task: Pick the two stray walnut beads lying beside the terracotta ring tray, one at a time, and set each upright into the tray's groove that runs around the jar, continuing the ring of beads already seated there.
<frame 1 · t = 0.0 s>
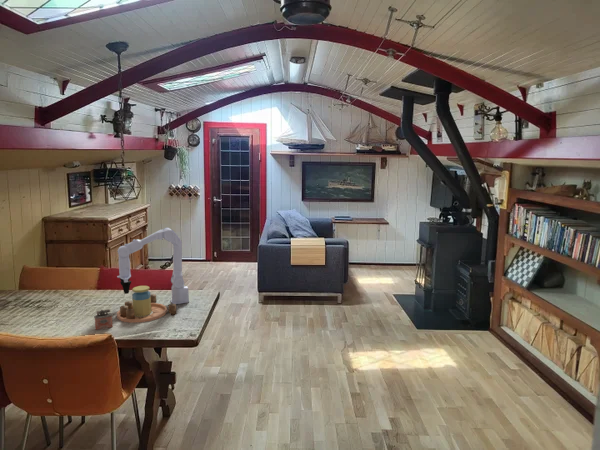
hand: (126, 291, 241), 10 cm above the table, tool pointing down, fingers open, 7 cm apart
bead a: (152, 303, 251), on the table
bead seated 1: (129, 311, 237), point 1 cm above the table, touching dish
bead seated 2: (124, 315, 230), point 1 cm above the table, touching dish
dish: (142, 314, 234), on the table
jar: (142, 315, 234), resting in dish
bead b: (172, 313, 236), on the table
lighter: (104, 329, 214), on the table
bead seated 3: (130, 319, 225), point 1 cm above the table, touching dish
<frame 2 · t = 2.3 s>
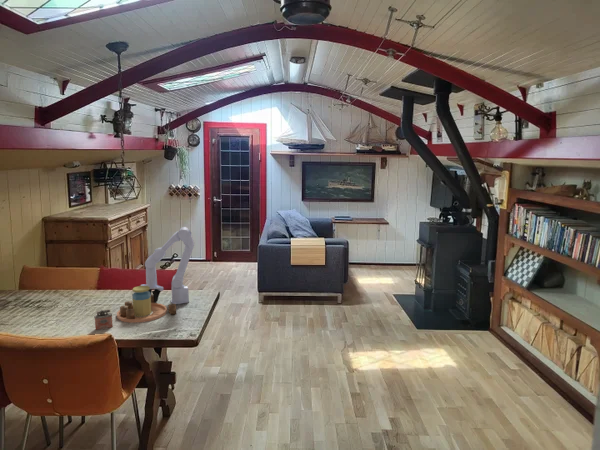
hand: (152, 301, 251), 1 cm above the table, tool pointing down, fingers closed on bead a, 4 cm apart
bead a: (152, 303, 251), on the table, touching gripper
everything else where it was.
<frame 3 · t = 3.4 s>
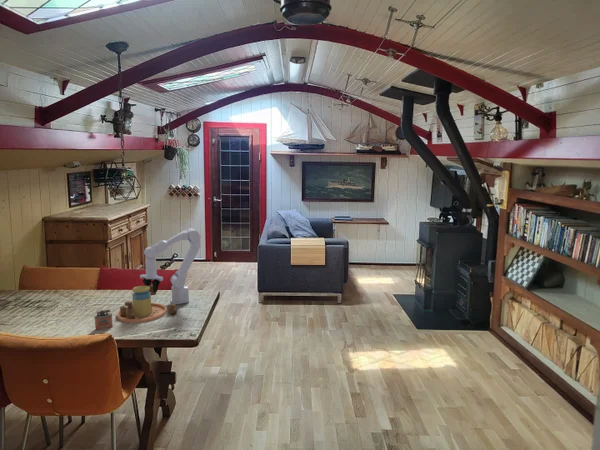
hand: (152, 291, 246), 8 cm above the table, tool pointing down, fingers closed on bead a, 4 cm apart
bead a: (152, 294, 246), point 7 cm above the table, touching gripper
everything else where it was.
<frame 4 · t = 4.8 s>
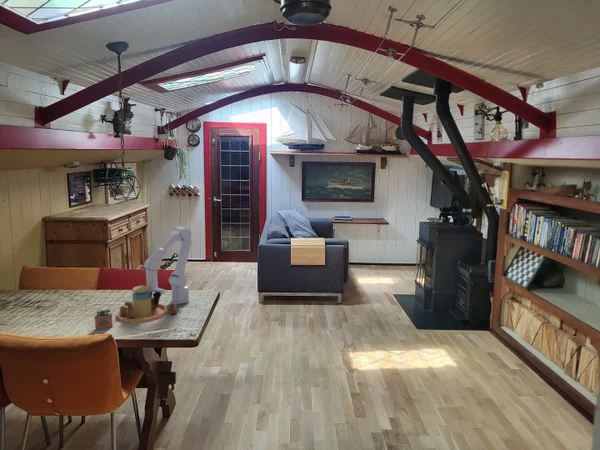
hand: (153, 304, 242), 3 cm above the table, tool pointing down, fingers closed on bead a, 4 cm apart
bead a: (153, 306, 242), point 1 cm above the table, touching gripper
everything else where it was.
when the fingers open (3 cm above the table, at t = 5.2 s): bead a stays where it is, resting on dish.
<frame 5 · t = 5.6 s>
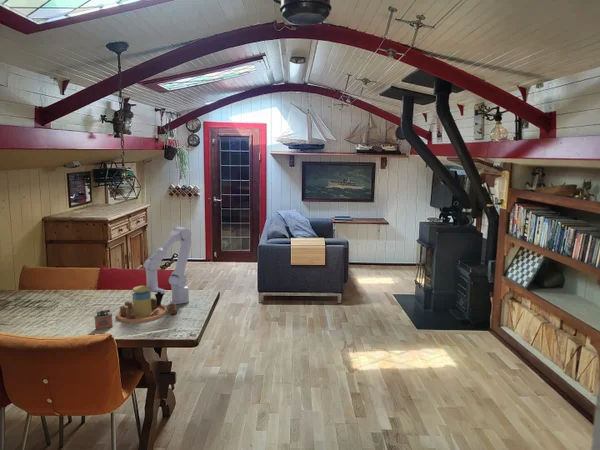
hand: (153, 304, 242), 3 cm above the table, tool pointing down, fingers open, 7 cm apart
bead a: (153, 307, 242), point 1 cm above the table, touching dish
everything else where it was.
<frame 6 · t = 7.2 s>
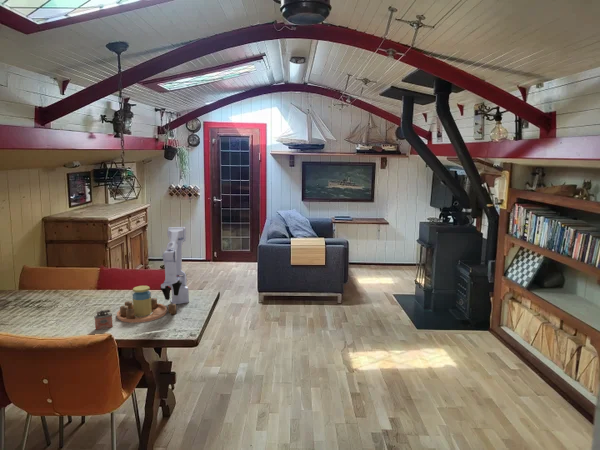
hand: (171, 297, 234), 9 cm above the table, tool pointing down, fingers open, 7 cm apart
nothing on the table moved.
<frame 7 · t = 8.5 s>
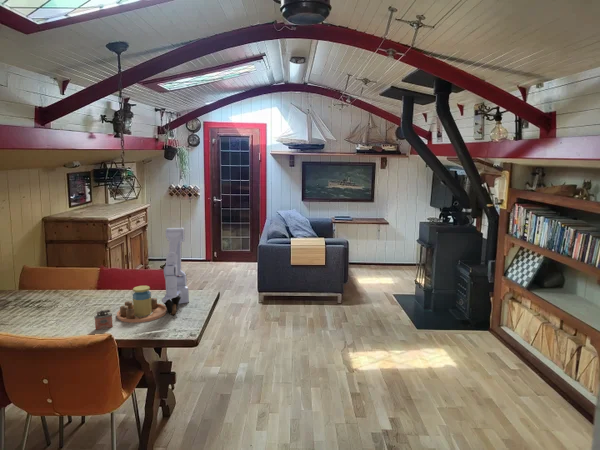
hand: (172, 311, 235), 1 cm above the table, tool pointing down, fingers closed on bead b, 4 cm apart
bead b: (172, 313, 236), on the table, touching gripper
everything else where it was.
when the fingers open (3 cm above the table, at t = 11.5 s): bead b stays where it is, resting on dish.
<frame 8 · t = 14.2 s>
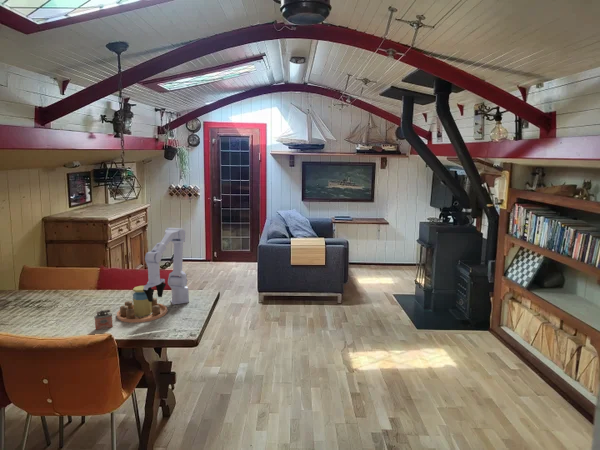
hand: (155, 299, 229), 10 cm above the table, tool pointing down, fingers open, 7 cm apart
bead b: (156, 315, 231), point 1 cm above the table, touching dish
everything else where it was.
at the end: bead a 0.1 cm from the target spot on the dish, point 0.8 cm above the dish's base; bead b 0.1 cm from the target spot on the dish, point 0.8 cm above the dish's base; bead a 8.7 cm from the jar (horizontally) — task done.
